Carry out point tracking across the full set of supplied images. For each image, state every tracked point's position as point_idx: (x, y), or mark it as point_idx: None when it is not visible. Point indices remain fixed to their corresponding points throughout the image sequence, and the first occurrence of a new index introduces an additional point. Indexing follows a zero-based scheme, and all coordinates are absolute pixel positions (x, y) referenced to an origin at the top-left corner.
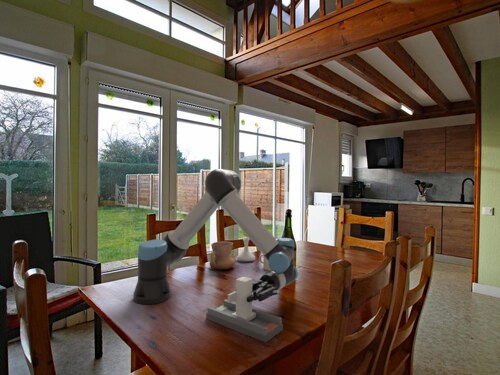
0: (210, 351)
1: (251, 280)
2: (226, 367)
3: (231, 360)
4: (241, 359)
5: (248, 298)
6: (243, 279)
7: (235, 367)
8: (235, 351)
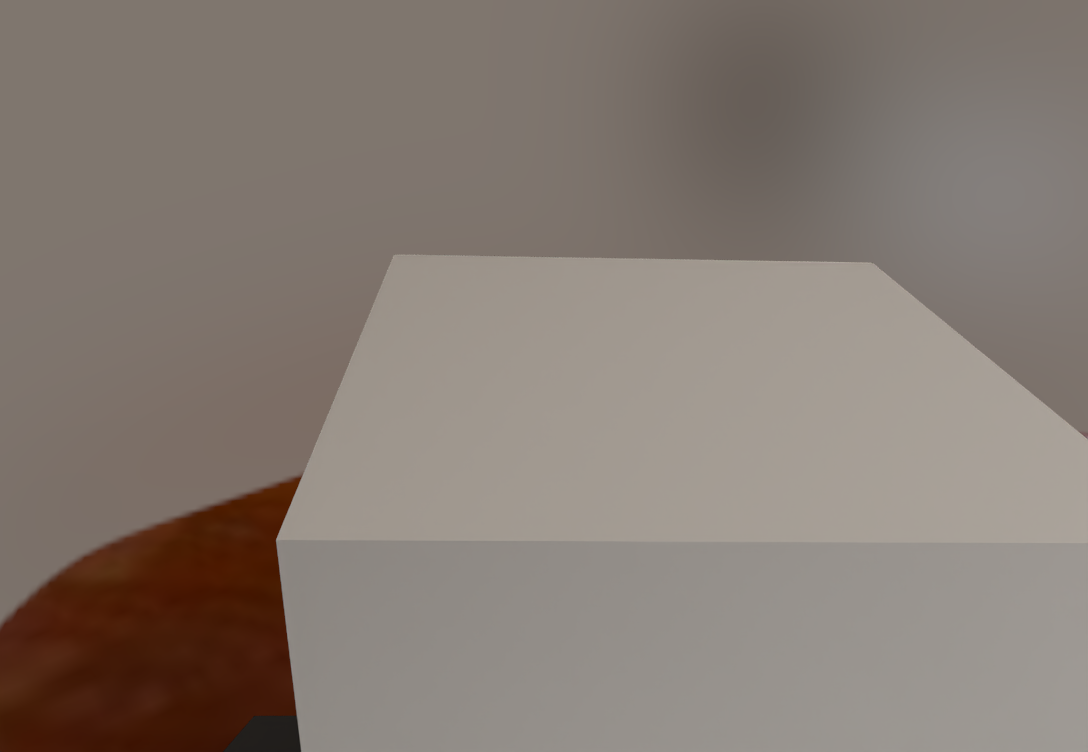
0: None
1: (313, 560)
2: (223, 521)
3: (224, 577)
4: (139, 620)
5: (280, 728)
6: (663, 329)
7: (153, 545)
8: (250, 666)
